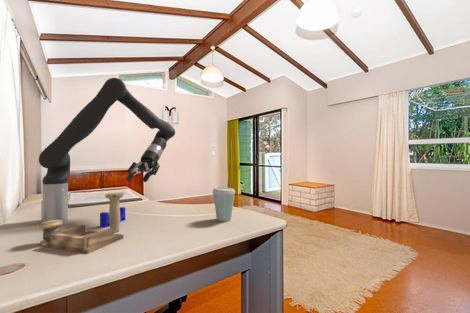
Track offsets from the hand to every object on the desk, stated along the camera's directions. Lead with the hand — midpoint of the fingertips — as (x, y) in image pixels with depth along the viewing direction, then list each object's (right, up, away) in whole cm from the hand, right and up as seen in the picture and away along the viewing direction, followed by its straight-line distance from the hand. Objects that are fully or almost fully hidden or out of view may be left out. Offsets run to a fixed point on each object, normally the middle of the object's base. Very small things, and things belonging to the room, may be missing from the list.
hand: (135, 180), depth 103 cm
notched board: (-7, -19, -23) cm, 30 cm away
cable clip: (-11, -19, 0) cm, 22 cm away
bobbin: (-19, -19, -23) cm, 35 cm away
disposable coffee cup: (+39, -19, +6) cm, 43 cm away
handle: (-4, -19, -11) cm, 22 cm away
